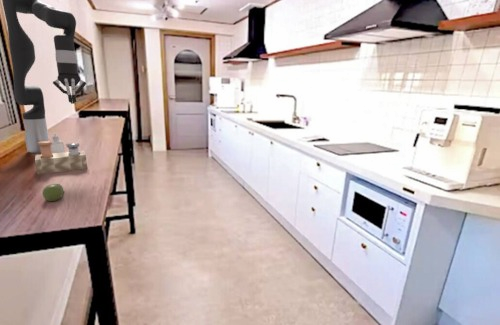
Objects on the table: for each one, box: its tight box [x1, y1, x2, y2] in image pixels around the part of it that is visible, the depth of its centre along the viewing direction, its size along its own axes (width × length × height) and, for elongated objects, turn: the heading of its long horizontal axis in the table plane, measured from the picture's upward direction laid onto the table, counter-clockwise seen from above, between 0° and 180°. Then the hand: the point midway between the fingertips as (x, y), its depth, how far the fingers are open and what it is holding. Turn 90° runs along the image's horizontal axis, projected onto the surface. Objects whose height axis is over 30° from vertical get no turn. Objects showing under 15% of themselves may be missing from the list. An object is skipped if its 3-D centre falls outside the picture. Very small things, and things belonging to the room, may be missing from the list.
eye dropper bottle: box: [51, 132, 66, 153], centre depth 140 cm, size 4×6×12 cm
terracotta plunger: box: [38, 140, 52, 158], centre depth 121 cm, size 5×5×10 cm
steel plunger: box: [65, 142, 80, 155], centre depth 127 cm, size 5×5×10 cm
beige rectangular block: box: [34, 150, 88, 175], centre depth 125 cm, size 18×9×6 cm, turn 124°
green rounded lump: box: [42, 183, 65, 202], centre depth 96 cm, size 6×5×10 cm
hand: (72, 103), depth 127 cm, fingers closed
